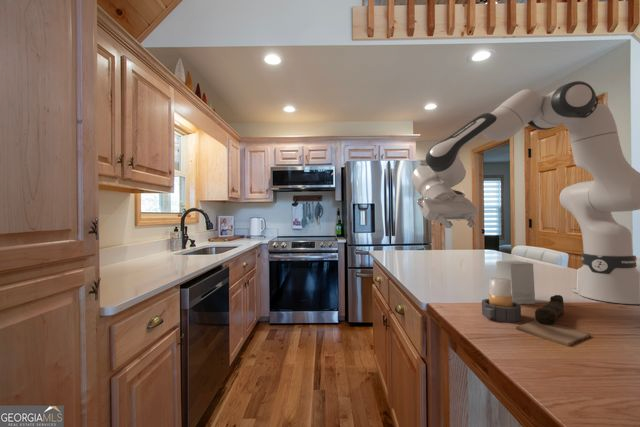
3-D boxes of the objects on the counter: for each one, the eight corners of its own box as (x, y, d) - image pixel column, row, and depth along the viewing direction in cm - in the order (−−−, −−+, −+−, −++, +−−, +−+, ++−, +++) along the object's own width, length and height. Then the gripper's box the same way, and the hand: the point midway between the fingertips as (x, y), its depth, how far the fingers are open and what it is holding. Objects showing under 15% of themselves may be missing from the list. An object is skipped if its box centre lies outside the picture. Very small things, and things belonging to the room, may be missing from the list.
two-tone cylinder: (497, 311, 78) (495, 276, 78) (517, 317, 73) (515, 280, 73) (485, 314, 75) (483, 279, 76) (505, 321, 71) (503, 282, 71)
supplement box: (536, 304, 84) (534, 263, 84) (512, 304, 84) (510, 263, 84) (519, 297, 91) (517, 259, 91) (496, 297, 91) (495, 260, 91)
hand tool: (555, 327, 64) (555, 307, 64) (534, 322, 67) (534, 303, 67) (573, 313, 75) (573, 296, 76) (555, 309, 79) (554, 293, 79)
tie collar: (494, 308, 80) (494, 297, 80) (528, 318, 72) (527, 305, 72) (471, 314, 76) (471, 302, 76) (504, 325, 68) (504, 311, 68)
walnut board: (538, 321, 70) (538, 319, 70) (590, 336, 61) (590, 333, 61) (516, 329, 65) (515, 326, 65) (568, 346, 56) (567, 343, 56)
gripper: (418, 191, 91) (439, 220, 82) (466, 192, 97) (492, 219, 88) (410, 205, 95) (430, 234, 86) (457, 205, 101) (480, 232, 92)
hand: (462, 226), depth 87 cm, fingers open, 8 cm apart
